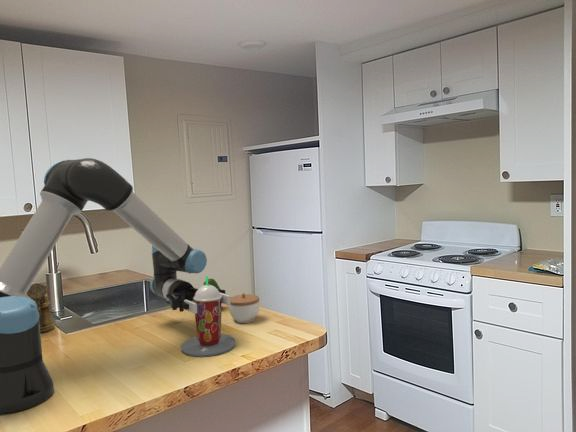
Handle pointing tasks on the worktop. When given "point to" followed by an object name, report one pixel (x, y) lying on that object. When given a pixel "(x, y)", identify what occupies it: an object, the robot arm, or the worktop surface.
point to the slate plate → (208, 347)
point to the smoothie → (208, 314)
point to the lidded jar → (244, 307)
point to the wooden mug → (42, 306)
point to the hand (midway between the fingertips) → (212, 304)
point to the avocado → (212, 283)
